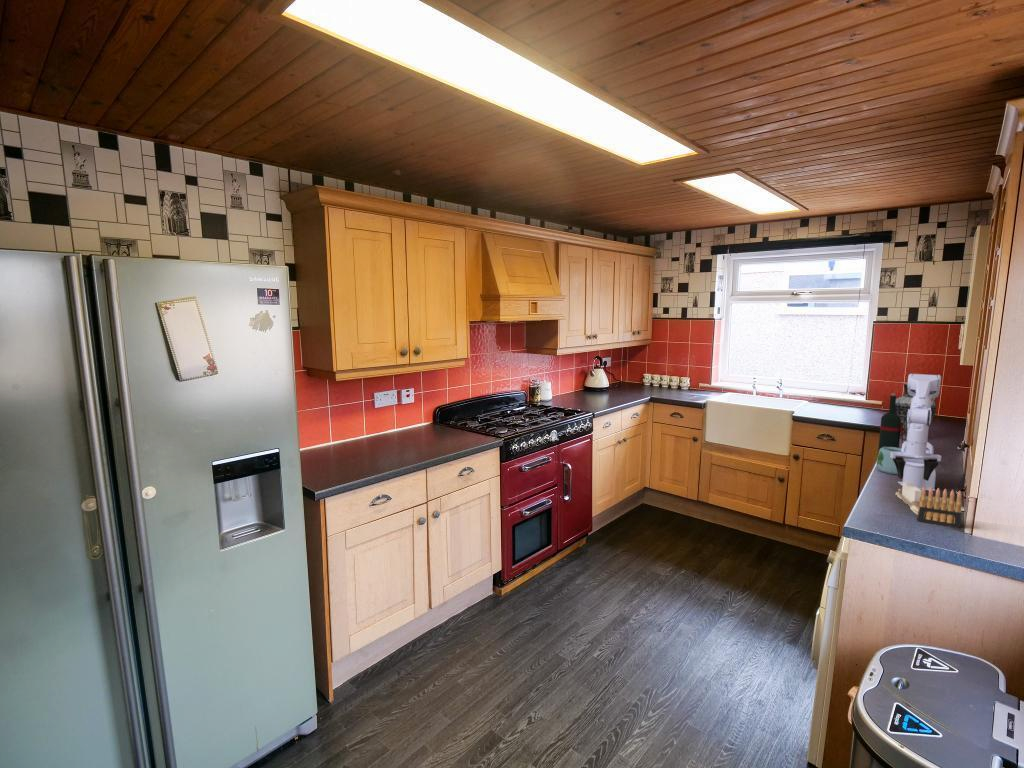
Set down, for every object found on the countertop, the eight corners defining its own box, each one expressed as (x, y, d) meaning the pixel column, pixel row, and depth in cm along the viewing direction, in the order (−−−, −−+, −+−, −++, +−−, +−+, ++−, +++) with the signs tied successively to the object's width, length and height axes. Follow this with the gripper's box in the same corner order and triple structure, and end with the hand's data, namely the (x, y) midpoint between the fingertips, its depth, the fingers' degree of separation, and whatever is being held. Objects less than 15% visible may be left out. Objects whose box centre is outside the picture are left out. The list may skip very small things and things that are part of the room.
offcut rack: (912, 496, 190) (912, 488, 189) (939, 517, 170) (940, 508, 170) (893, 494, 191) (893, 487, 191) (917, 515, 172) (918, 506, 172)
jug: (897, 442, 267) (903, 385, 263) (880, 433, 286) (884, 380, 282) (943, 443, 263) (949, 385, 259) (922, 435, 281) (928, 380, 277)
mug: (866, 464, 229) (868, 443, 227) (894, 465, 227) (896, 443, 225) (884, 475, 214) (886, 452, 213) (913, 476, 212) (916, 453, 211)
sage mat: (948, 499, 186) (948, 497, 186) (968, 512, 174) (968, 511, 173) (915, 496, 189) (916, 495, 189) (932, 509, 177) (933, 508, 176)
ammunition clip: (959, 526, 163) (963, 490, 161) (960, 528, 161) (964, 491, 160) (916, 519, 169) (920, 484, 167) (917, 521, 167) (921, 486, 165)
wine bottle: (903, 459, 236) (909, 395, 231) (876, 455, 242) (881, 393, 238) (905, 456, 241) (911, 393, 237) (879, 452, 248) (884, 391, 244)
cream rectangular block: (908, 497, 188) (909, 482, 187) (920, 507, 179) (922, 491, 178) (901, 497, 189) (903, 481, 188) (913, 507, 179) (915, 490, 179)
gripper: (897, 443, 179) (893, 480, 181) (947, 445, 175) (943, 484, 177) (889, 438, 186) (885, 474, 188) (937, 440, 182) (933, 477, 183)
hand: (913, 478), depth 183 cm, fingers open, 7 cm apart
